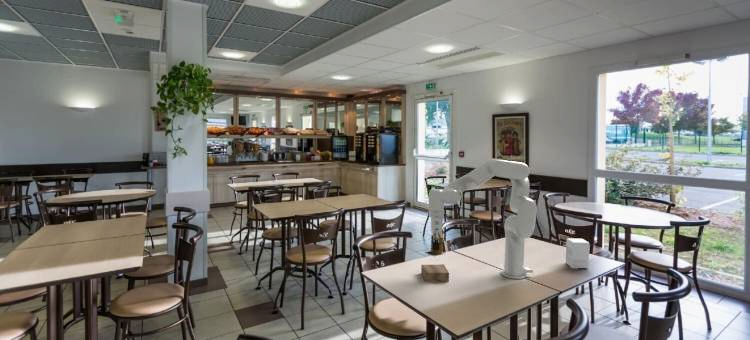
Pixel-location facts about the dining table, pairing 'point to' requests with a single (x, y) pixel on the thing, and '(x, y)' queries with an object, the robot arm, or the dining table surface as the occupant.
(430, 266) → the riser
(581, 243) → the supplement box
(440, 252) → the condiment
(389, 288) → the dining table surface
